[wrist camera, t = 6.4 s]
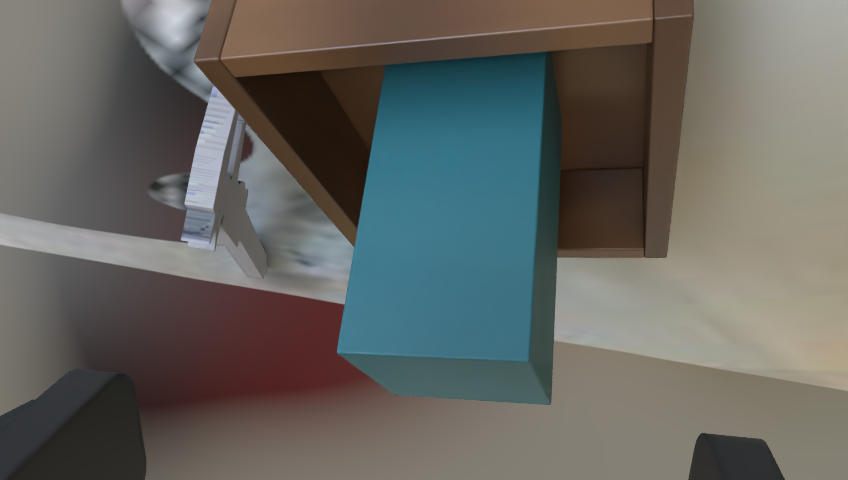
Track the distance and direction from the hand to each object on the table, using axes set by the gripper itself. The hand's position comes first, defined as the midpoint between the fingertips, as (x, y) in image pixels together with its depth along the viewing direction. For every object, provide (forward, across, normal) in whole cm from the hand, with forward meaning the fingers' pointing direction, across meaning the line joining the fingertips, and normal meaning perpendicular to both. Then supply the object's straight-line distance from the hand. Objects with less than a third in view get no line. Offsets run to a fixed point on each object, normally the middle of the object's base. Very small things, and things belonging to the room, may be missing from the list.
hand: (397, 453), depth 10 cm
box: (+16, 0, -3) cm, 17 cm away
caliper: (+24, +12, +4) cm, 27 cm away
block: (+16, 0, -3) cm, 16 cm away
